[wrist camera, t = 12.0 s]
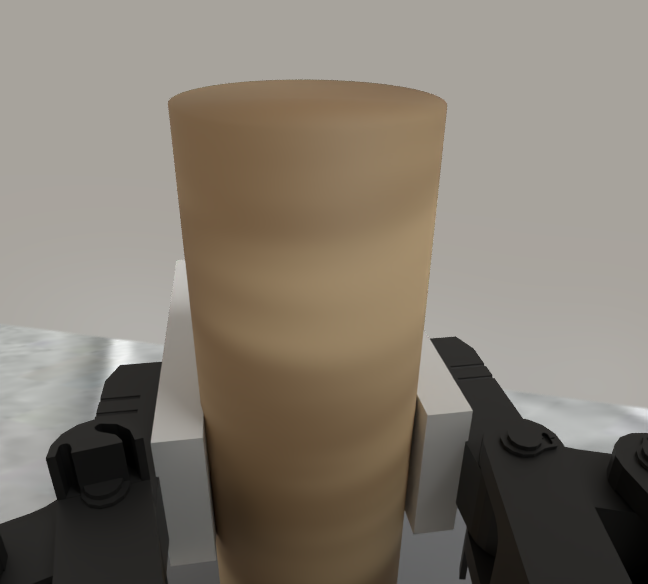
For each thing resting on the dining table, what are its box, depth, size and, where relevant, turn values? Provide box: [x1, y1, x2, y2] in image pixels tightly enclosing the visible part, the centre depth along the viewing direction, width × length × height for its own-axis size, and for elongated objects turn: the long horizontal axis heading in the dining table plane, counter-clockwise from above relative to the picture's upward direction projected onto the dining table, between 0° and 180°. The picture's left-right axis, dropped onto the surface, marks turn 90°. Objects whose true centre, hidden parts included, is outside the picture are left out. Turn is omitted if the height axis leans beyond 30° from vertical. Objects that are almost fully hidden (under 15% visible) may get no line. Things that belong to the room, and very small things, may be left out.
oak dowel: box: [168, 80, 447, 584], centre depth 11 cm, size 4×4×15 cm
